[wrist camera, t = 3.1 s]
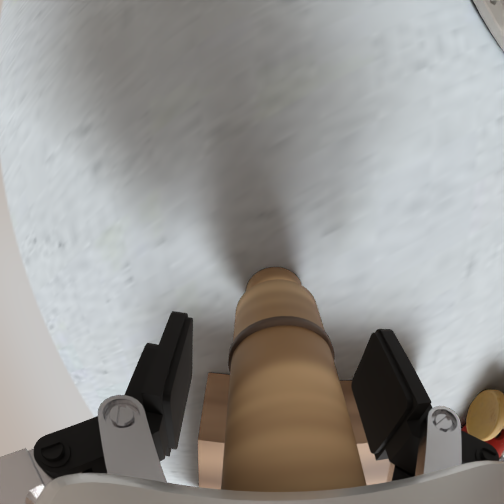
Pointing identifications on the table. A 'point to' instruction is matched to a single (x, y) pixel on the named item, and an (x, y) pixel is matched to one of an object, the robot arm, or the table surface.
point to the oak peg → (285, 395)
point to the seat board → (215, 428)
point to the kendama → (487, 419)
